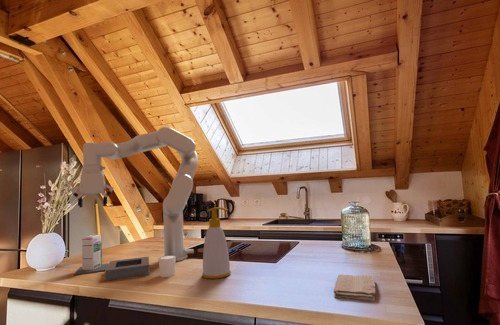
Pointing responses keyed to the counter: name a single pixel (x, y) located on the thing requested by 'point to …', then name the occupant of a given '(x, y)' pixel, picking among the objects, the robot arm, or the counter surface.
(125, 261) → the socket block
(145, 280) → the counter surface
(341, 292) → the washcloth
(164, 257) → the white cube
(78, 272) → the rubber mat
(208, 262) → the soap bottle
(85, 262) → the syrup box
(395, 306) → the counter surface
